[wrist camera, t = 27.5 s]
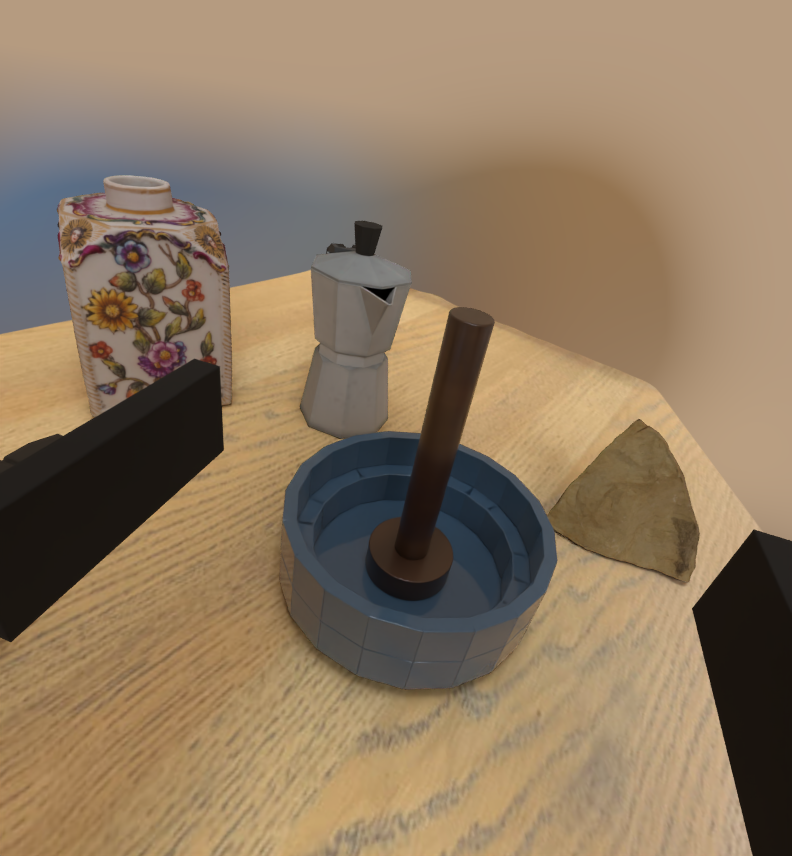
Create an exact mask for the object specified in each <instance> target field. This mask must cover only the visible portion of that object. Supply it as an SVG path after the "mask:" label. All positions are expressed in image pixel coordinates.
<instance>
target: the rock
mask: <svg viewBox="0 0 792 856" xmlns="http://www.w3.org/2000/svg"><path fill="white" fill-rule="evenodd" d="M547 517H548V519H549V521H550V523H551V525H552V527H553V529H554V530H555V531H557V532H559V533H560V534H562V535H563V536H565V537H568V538H570V540H572V541H573V542H575V543H576V544H578V545H580V546H582V547H584V548H585V549H586V550H590V551H593V552H596V553H598V554H601V555H604V556H606V557H608V558H613V559H616V560H619V561H626V562H628V563H632V564H634V565H636V566H639V567H643V568H647V569H650V568H651V569H654V570H658V571H659V572H662V573H664V574H665V575H668V576H672V577H674V578H675V579H678V580H682V581H686V582H689V581H690V576H691V574H692V572H693V570H694V569H695V559H696V555H697V545H698V541H699V528H698V524H697V521H696V519H695V516H694V512H693V509H692V506H691V501H690V497H689V494H688V490H687V487H686V482H685V477H684V475H683V472H682V471H681V469H680V467H679V465H678V463H677V461H676V460H675V458H674V456H673V454H672V453H671V452H670V450H669V447H668V444H667V443H666V441H665V439H664V438H663V437H662V436H661V435H660V433H659V432H657V431H656V430H654V429H653V428H651V427H650V426H647V425H646V424H645V423H644V422H643V421H642V420H640V419H638V420H636V421H635V422H634V423H632V424H631V425H630V427H629V428H628V429H626V430H625V431H624V432H623V433H622V434H620V435H619V436H618V437H616V438H615V439H614V441H613V442H612V443H611V444H610V445H609V446H607V447H606V448H605V449H604V450H603V451H602V452H601V453H600V454H599V456H598V457H597V458H596V459H595V460H594V461H593V462H592V463H591V465H589V466H588V467H587V468H586V470H585V471H584V472H583V473H582V474H581V475H579V476H578V478H577V479H576V480H574V481H573V482H572V483H571V484H570V485H569V486H568V488H567V489H566V490H565V492H564V493H563V495H562V496H561V498H560V499H559V501H558V502H557V503H556V505H555V506H554V507H553V508H552V509H551V511H550V512H549V514H548V515H547Z"/></svg>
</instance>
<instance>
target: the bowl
mask: <svg viewBox="0 0 792 856" xmlns="http://www.w3.org/2000/svg"><path fill="white" fill-rule="evenodd" d="M420 435H421V433H409V432H394V431H388V432H387V431H385V432H377V433H369V434H361V435H355V436H351V437H349V438H346V439H343V440H341V441H338V442H335V443H332V444H330V445H327V446H326V447H323V448H322V449H321V450H319V451H318V452H317V453H315V454H314V455H313V456H312V457H310V458H309V459H308V460H306V461H305V462H304V463H302V465H301V466H300V467H299V469H298V470H297V472H296V474H295V475H294V477H293V479H292V480H291V482H290V484H289V485H288V487H287V489H286V490H285V500H284V510H283V520H282V539H281V559H280V584H281V587H282V590H283V593H284V596H285V600H286V603H287V606H288V609H289V613H290V615H291V617H292V618H293V619H294V621H295V622H296V623H297V625H298V626H299V627H300V628H301V630H302V631H303V632H304V634H305V635H306V636H307V637H308V639H309V640H310V641H311V643H312V644H313V645H314V646H315V648H316V649H318V650H319V651H320V652H322V653H323V654H325V655H326V656H328V657H329V658H331V659H332V660H334V661H335V662H337V663H338V664H340V665H341V666H343V667H344V668H346V669H347V670H349V671H350V672H352V673H353V674H355V675H357V676H360V677H363V678H367V679H370V680H373V681H377V682H380V683H384V684H387V685H391V686H394V687H398V688H401V689H438V688H453V687H456V686H458V685H461V684H464V683H466V682H469V681H471V680H474V679H476V678H479V677H481V676H484V675H486V674H489V673H491V671H493V670H494V669H495V668H496V667H497V666H498V665H499V664H500V663H501V662H502V661H503V660H504V659H505V658H506V657H508V656H509V655H510V654H511V653H512V652H513V651H514V650H515V649H516V648H517V647H518V645H519V643H520V641H521V639H522V637H523V636H524V634H525V632H526V630H527V628H528V626H529V624H530V622H531V620H532V618H533V616H534V614H535V612H536V610H537V608H538V607H539V605H540V603H541V601H542V599H543V597H544V595H545V593H546V591H547V588H548V586H549V583H550V580H551V577H552V575H553V572H554V569H555V567H556V564H557V553H556V544H555V534H554V529H553V527H552V525H551V523H550V521H549V519H548V517H547V515H546V513H545V511H544V509H543V507H542V505H541V503H540V501H539V500H538V499H537V498H536V497H535V496H534V495H533V494H532V493H531V492H530V491H529V489H528V488H527V487H526V486H525V485H524V484H523V483H522V482H521V481H520V480H519V479H518V478H517V477H516V475H514V474H513V473H511V472H510V471H508V470H507V469H506V468H504V467H503V466H501V465H500V464H498V463H497V462H495V461H494V460H492V459H491V458H490V457H488V456H486V455H484V454H481V453H479V452H477V451H475V450H472V449H470V448H468V447H466V446H463V445H461V444H459V447H458V450H457V453H456V457H455V460H454V464H453V467H452V471H451V474H450V478H449V481H448V484H447V488H446V491H445V495H444V498H443V502H442V505H441V508H440V512H439V515H438V519H437V522H436V526H435V527H437V528H438V529H439V530H440V531H441V532H443V533H444V535H445V536H446V537H447V538H448V540H449V542H450V544H451V546H452V549H453V562H452V565H451V568H450V571H449V574H448V577H447V580H446V583H445V585H444V586H443V588H442V589H441V590H440V591H439V592H438V593H437V594H435V595H433V596H432V597H429V598H427V599H423V600H416V601H410V600H402V599H398V598H395V597H393V596H390V595H388V594H387V593H385V592H383V591H382V590H381V589H379V588H378V587H377V586H376V585H375V584H374V583H373V581H372V580H371V578H370V577H369V575H368V572H367V569H366V555H367V549H368V544H369V539H370V536H371V534H372V532H373V530H374V529H375V528H376V527H377V526H378V525H379V524H381V523H382V522H384V521H386V520H389V519H392V518H396V517H401V516H402V512H403V507H404V503H405V499H406V495H407V490H408V486H409V482H410V478H411V473H412V469H413V465H414V461H415V456H416V452H417V448H418V443H419V439H420Z"/></svg>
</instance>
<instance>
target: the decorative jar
mask: <svg viewBox="0 0 792 856" xmlns="http://www.w3.org/2000/svg"><path fill="white" fill-rule="evenodd" d="M104 188H105V193H96V194H89V195H81V196H76V197H70V198H65V199H62V200H61V201H60V203H59V205H58V208H57V212H58V214H59V222H58V227H59V229H60V231H59V233H58V241H59V249H60V255H59V260H60V261H61V263H62V265H63V271H64V276H65V283H66V287H67V292H68V297H69V298H68V300H69V305H70V310H71V315H72V321H73V326H74V333H75V338H76V342H77V348H78V353H79V358H80V363H81V368H82V372H83V377H84V382H85V386H86V390H87V395H88V398H89V405H90V412H91V414H92V416H94V417H96V416H98V415H100V414H101V413H103V412H105V411H107V410H108V409H110V408H112V407H113V406H115V405H117V404H118V403H120V402H122V401H123V400H125V399H127V398H128V397H130V396H132V395H134V394H135V393H137V392H139V391H140V390H142V389H144V388H145V387H147V386H149V385H150V384H152V383H154V382H156V381H157V380H159V379H161V378H162V377H164V376H166V375H167V374H169V373H171V372H172V371H174V370H176V369H178V368H179V367H181V366H183V365H184V364H186V363H188V362H189V361H191V360H193V359H198V360H201V361H204V362H208V363H211V364H214V365H217V366H220V378H221V400H222V405H228V404H230V403H231V402H232V346H231V345H232V343H231V316H230V287H229V265H228V261H227V256H226V251H225V245H224V244H223V243H222V241H221V239H220V236H221V232H220V231H219V229H218V223H217V220H216V219H215V217H214V216H213V215H212V213H210V212H209V211H208V210H206V209H203V208H200V207H197V206H195V205H194V204H192V203H190V202H184V201H182V200H179V199H175V198H172V195H171V190H170V186H169V183H167V182H166V181H163V180H160V179H156V178H150V177H139V176H128V175H125V176H123V175H120V176H111V177H107V178H105V179H104Z"/></svg>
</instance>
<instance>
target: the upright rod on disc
mask: <svg viewBox="0 0 792 856" xmlns="http://www.w3.org/2000/svg"><path fill="white" fill-rule="evenodd" d="M494 323H495V322H494V319H493V318H492V317H491V316H490V315H488V314H486V313H485V312H482V311H480V310H476V309H472V308H464V307H458V308H453V309H451V310H450V312H449V315H448V320H447V324H446V328H445V332H444V337H443V341H442V345H441V350H440V354H439V358H438V362H437V367H436V371H435V375H434V379H433V384H432V388H431V392H430V396H429V401H428V405H427V409H426V414H425V418H424V422H423V426H422V431H421V435H420V439H419V443H418V448H417V452H416V456H415V461H414V465H413V469H412V473H411V478H410V482H409V486H408V490H407V495H406V499H405V503H404V507H403V512H402V516H401V517H396V518H392V519H389V520H386V521H384V522H382V523H381V524H379V525H378V526H377V527H376V528H375V529H374V530H373V532H372V534H371V536H370V539H369V544H368V549H367V555H366V569H367V572H368V575H369V577H370V578H371V580H372V581H373V583H374V584H375V585H376V586H377V587H378V588H379V589H381V590H382V591H383V592H385V593H387V594H388V595H390V596H393V597H395V598H398V599H402V600H410V601H416V600H423V599H427V598H429V597H432V596H433V595H435V594H437V593H438V592H439V591H440V590H441V589H442V588H443V586H444V585H445V583H446V580H447V577H448V574H449V571H450V568H451V565H452V562H453V549H452V546H451V544H450V542H449V540H448V538H447V537H446V536H445V535H444V533H443V532H441V531H440V530H439V529H438V528H437V527H435V526H436V522H437V519H438V515H439V512H440V508H441V505H442V502H443V498H444V495H445V491H446V488H447V484H448V481H449V478H450V474H451V471H452V467H453V464H454V460H455V457H456V453H457V450H458V447H459V443H460V440H461V436H462V433H463V429H464V426H465V423H466V419H467V416H468V412H469V409H470V405H471V402H472V399H473V395H474V392H475V388H476V385H477V381H478V378H479V374H480V371H481V368H482V364H483V361H484V357H485V354H486V350H487V347H488V344H489V340H490V337H491V333H492V330H493V326H494Z"/></svg>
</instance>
